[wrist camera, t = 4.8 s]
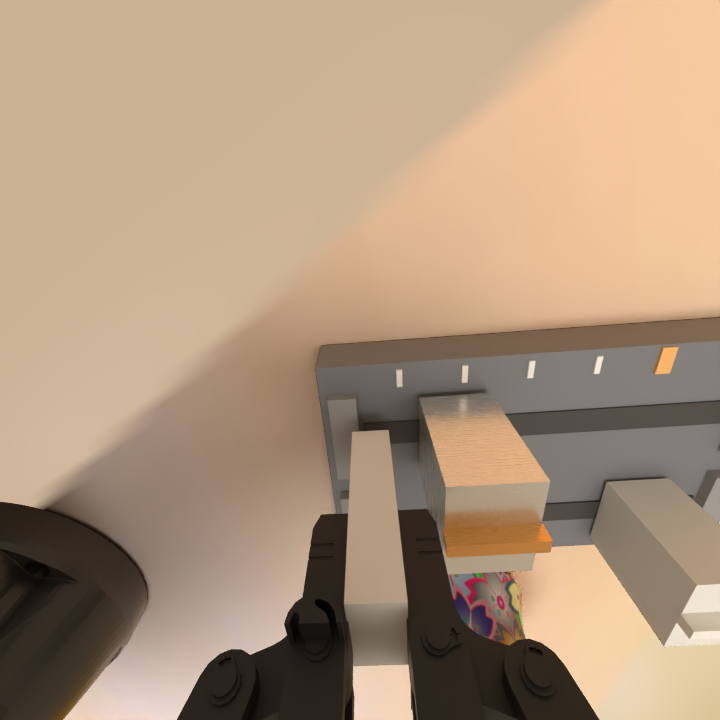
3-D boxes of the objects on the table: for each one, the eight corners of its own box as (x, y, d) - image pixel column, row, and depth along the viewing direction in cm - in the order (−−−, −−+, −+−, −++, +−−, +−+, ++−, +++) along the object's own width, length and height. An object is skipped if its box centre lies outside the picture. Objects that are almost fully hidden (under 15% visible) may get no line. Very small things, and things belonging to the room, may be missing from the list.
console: (344, 520, 22) (336, 688, 14) (321, 345, 17) (290, 464, 9) (668, 502, 21) (837, 668, 14) (746, 315, 16) (1083, 416, 9)
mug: (367, 578, 24) (372, 828, 15) (488, 528, 22) (587, 782, 13) (445, 655, 29) (489, 887, 19) (553, 619, 26) (664, 860, 17)
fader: (418, 470, 16) (444, 593, 11) (417, 397, 15) (449, 503, 9) (484, 466, 16) (541, 588, 11) (491, 392, 14) (563, 497, 9)
